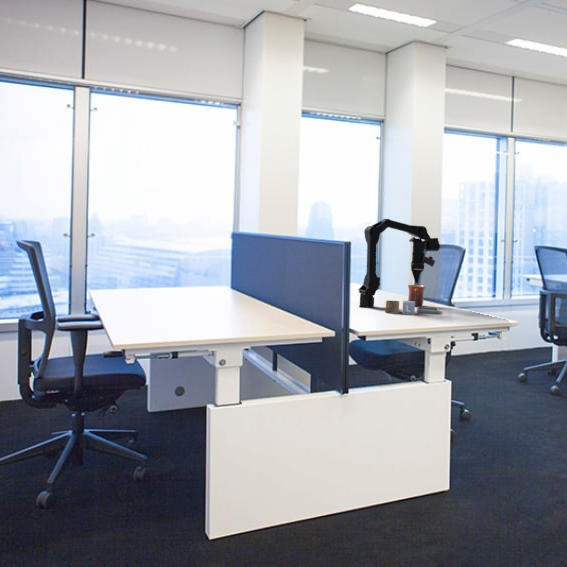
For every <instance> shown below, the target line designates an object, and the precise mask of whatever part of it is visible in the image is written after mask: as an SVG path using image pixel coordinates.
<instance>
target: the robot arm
mask: <svg viewBox="0 0 567 567" xmlns="http://www.w3.org/2000/svg"><path fill="white" fill-rule="evenodd" d="M388 228H390V229H393V230H396V231H401V232H403V233H407V234H409V235H410V236H411V238H410V239H409V240H408V241H409V243H412V253H411V254H412V255H411V262H410V268H411V269H410V270H411V273H412V276H413V278H414V283H415V284H418V282H419V279H420V275H421V273H423V272H424V270H425V264H426V265H427V266H428V265H429V266H430V267H434V265H435V263H436V260H435V259H434V258H433V256H431V255H430V256H426V255H425V251H426V252H438V251H440V249H441V248H440V247H441V244H440V241H439V238H438V237H433V238H431V236H430V235H429V233H428V230H427V227H426V226H424V225H423V226H422V225H413V224H412V225H411V224H407V223H403V222H399V221H395V220H392V219H390V218H383V219H382V220H380V221H378V222H376V223H374V224H372V225H368V226H366V227H365V229H364V231H363V232H364V239H365V242H366V274H365V276H364V278H363V282H362V285H361V286H360V287H359V288H358V292H359V306H358V307H360V308H373V307H374V306H375V294H376V292H377V291H378V290H379V288H380V286H381V283H380V282H381V277H380V276H377V250H378V247H377V245H378V243H379V240H380V237H381V234H382V233H384V232H385V231H386V230H387V229H388Z"/></svg>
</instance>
